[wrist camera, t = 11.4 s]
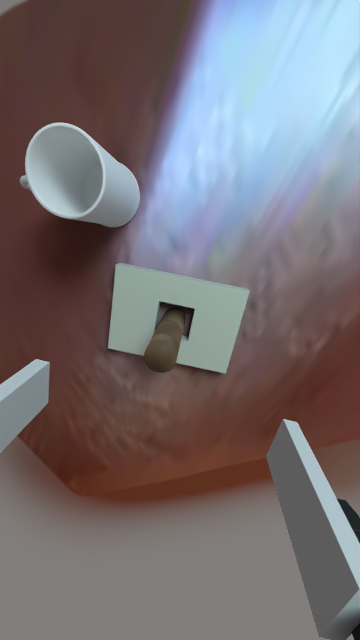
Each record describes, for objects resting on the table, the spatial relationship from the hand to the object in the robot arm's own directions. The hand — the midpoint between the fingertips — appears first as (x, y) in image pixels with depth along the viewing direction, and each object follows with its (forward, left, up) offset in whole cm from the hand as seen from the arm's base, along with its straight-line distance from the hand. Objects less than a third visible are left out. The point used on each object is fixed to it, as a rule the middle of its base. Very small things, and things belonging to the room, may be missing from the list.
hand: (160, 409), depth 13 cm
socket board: (-1, -4, -26) cm, 26 cm away
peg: (-2, -4, -26) cm, 26 cm away
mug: (-15, +12, -26) cm, 33 cm away
